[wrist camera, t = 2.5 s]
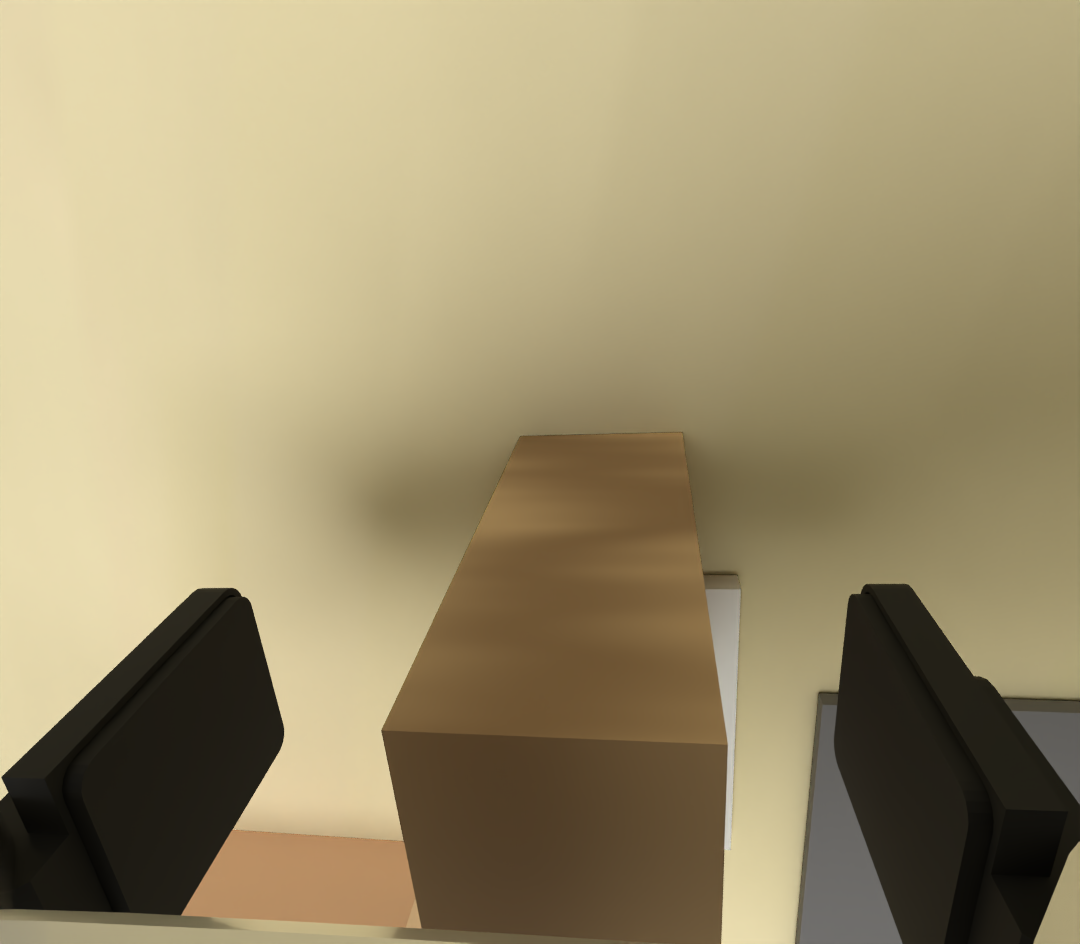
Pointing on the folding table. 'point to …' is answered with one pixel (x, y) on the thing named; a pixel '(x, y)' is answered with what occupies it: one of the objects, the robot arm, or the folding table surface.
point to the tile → (308, 881)
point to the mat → (838, 843)
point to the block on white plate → (575, 707)
